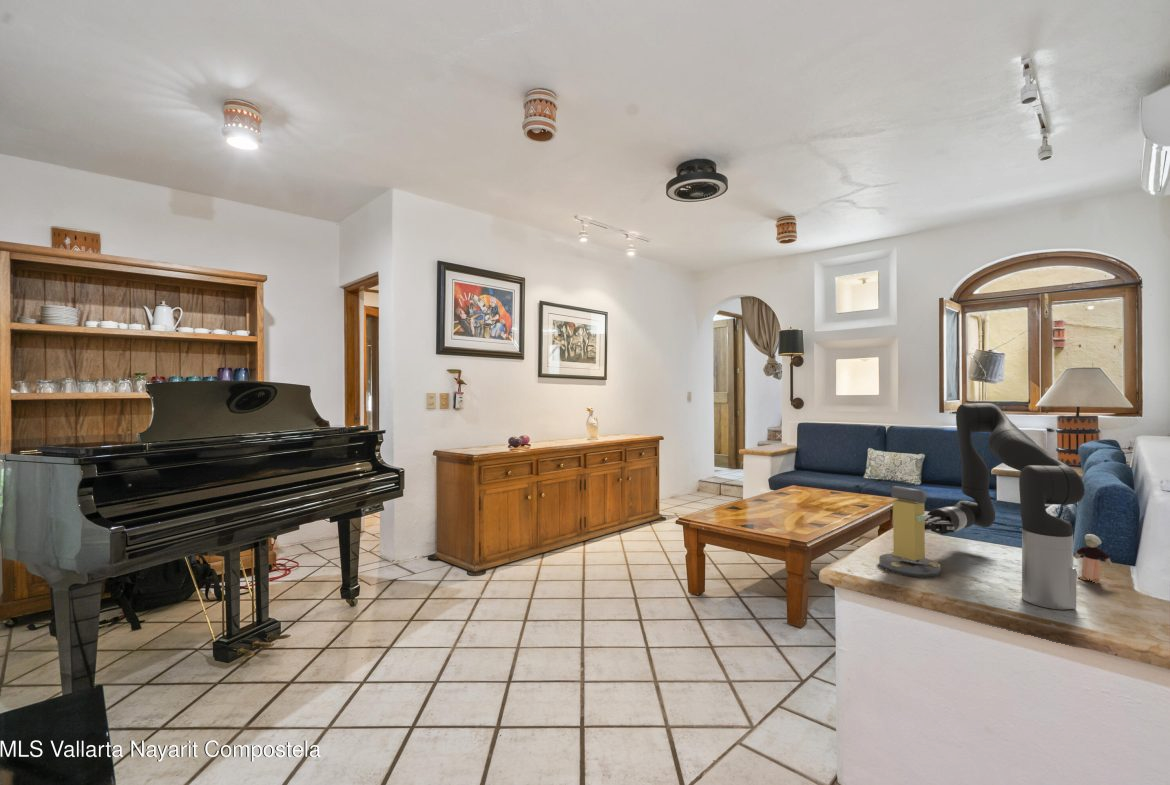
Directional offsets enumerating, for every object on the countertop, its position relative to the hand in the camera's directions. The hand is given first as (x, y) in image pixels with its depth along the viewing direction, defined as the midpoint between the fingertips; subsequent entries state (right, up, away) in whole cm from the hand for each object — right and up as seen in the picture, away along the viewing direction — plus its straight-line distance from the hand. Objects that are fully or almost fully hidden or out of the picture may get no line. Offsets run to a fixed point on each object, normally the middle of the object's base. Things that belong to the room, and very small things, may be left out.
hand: (914, 527), depth 154 cm
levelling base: (-2, -12, -1) cm, 12 cm away
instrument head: (-2, -8, -1) cm, 9 cm away
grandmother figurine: (+41, -12, -11) cm, 44 cm away
